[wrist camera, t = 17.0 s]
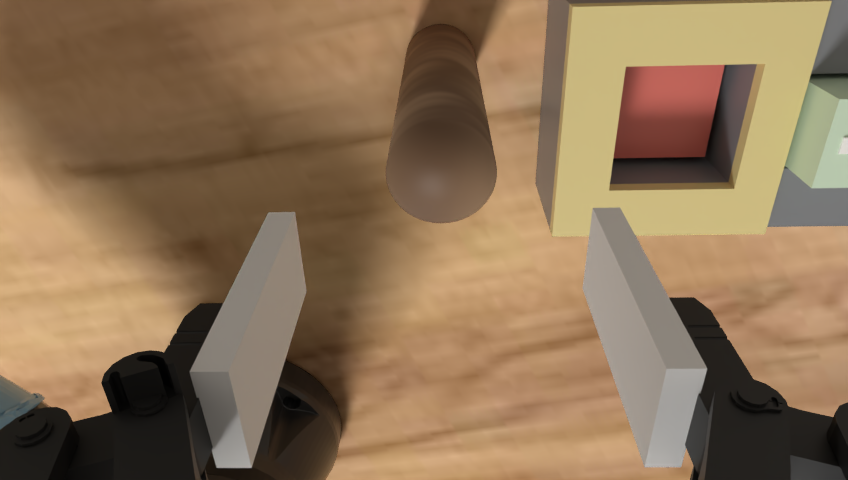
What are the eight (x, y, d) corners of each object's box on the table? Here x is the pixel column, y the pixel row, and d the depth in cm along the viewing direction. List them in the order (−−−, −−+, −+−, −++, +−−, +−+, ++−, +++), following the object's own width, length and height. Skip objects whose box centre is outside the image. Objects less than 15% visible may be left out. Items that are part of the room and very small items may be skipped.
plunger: (595, 143, 38) (604, 158, 36) (607, 47, 35) (617, 58, 33) (690, 141, 37) (705, 156, 35) (709, 45, 35) (726, 56, 33)
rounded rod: (407, 94, 38) (388, 223, 24) (404, 24, 36) (382, 122, 22) (474, 93, 37) (495, 222, 24) (475, 23, 35) (498, 120, 22)
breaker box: (535, 183, 40) (552, 236, 35) (549, -17, 34) (572, 6, 28) (821, 179, 40) (887, 232, 34) (886, -25, 34) (981, -3, 28)
